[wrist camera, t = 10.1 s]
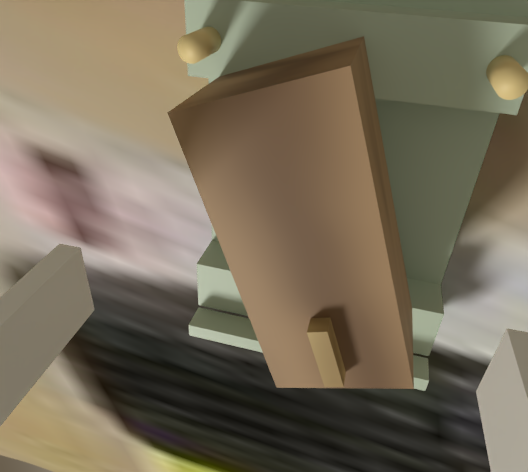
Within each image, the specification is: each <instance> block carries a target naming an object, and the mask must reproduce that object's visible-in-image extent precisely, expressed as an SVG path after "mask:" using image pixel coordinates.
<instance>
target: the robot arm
mask: <svg viewBox="0 0 528 472" xmlns="http://www.w3.org/2000/svg"><path fill="white" fill-rule="evenodd" d="M93 311H94V306H93V301H92V297H91V292H90V288H89V283H88V279H87V275H86V270H85V266H84V261H83V257H82V252H81V248H79V247H74V246H68V245H63V244H59V245H58V246H57V247H56V248H54V249H53V250H52V251H51V252H50V253H49V254H48V255H47V256H46V257H44V258H43V259H42V260H41V261H40V262H39V263H38V264H37V265H36V266H35V267H33V268H32V269H31V270H30V271H29V272H28V273H27V274H26V275H25V276H24V277H22V278H21V279H20V280H19V281H18V282H17V283H16V284H15V285H14V286H13V287H11V288H10V289H9V290H8V291H7V292H6V293H5V294H4V295H3V296H2V297H0V426H1V425H2V424H3V422H4V421H5V420H6V419H7V417H8V416H9V415H10V414H11V412H12V411H13V410H14V409H15V407H16V406H17V405H18V404H19V403H20V401H21V400H22V399H23V398H24V396H25V395H26V394H27V393H28V391H29V390H30V389H31V388H32V386H33V385H34V384H35V383H36V382H37V380H38V379H39V378H40V377H41V375H42V374H43V373H44V372H45V370H46V369H47V368H48V367H49V365H50V364H51V363H52V362H53V361H54V359H55V358H56V357H57V356H58V354H59V353H60V352H61V351H62V349H63V348H64V347H65V346H66V344H67V343H68V342H69V341H70V339H71V338H72V337H73V336H74V335H75V333H76V332H77V331H78V330H79V328H80V327H81V326H82V325H83V323H84V322H85V321H86V320H87V318H88V317H89V316H90V315H91V314H92V312H93ZM476 394H477V399H478V404H479V410H480V415H481V420H482V426H483V431H484V436H485V442H486V447H487V453H488V458H489V463H490V469H491V472H528V332H522V331H517V330H512V329H506V331H505V333H504V335H503V337H502V339H501V342H500V344H499V346H498V348H497V350H496V352H495V354H494V356H493V358H492V360H491V362H490V364H489V366H488V368H487V370H486V372H485V374H484V376H483V379H482V381H481V383H480V385H479V387H478V389H477V391H476Z"/></svg>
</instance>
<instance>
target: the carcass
mask: <svg viewBox="0 0 528 472" xmlns="http://www.w3.org/2000/svg"><path fill="white" fill-rule="evenodd" d="M185 20H186V35H184V36H182V37H181V38H180V40H179V42H178V46H177V49H178V53H179V55H180V57H181V58H182V59H183V60H184V61H185V62H187V63H188V76H193V77H202V78H209V83H211V82H212V81H214V80H215V79H216V78H218V77H219V76H223V75H227V74H230V73H234V72H237V71H241V70H245V69H248V68H252V67H255V66H259V65H263V64H266V63H270V62H273V61H277V60H280V59H284V58H288V57H291V56H295V55H298V54H302V53H306V52H309V51H313V50H316V49H320V48H324V47H327V46H331V45H334V44H338V43H342V42H345V41H349V40H352V39H356V38H359V37H363V36H364V39H365V45H366V50H367V56H368V62H369V67H370V73H371V79H372V84H373V90H374V96H375V101H376V107H377V112H378V118H379V124H380V129H381V135H382V141H383V146H384V152H385V158H386V163H387V169H388V175H389V180H390V186H391V192H392V197H393V203H394V208H395V214H396V220H397V225H398V231H399V237H400V242H401V248H402V254H403V259H404V265H405V271H406V276H407V282H408V287H409V293H410V299H411V304H412V323H413V353H418V354H422V355H427V356H429V354H430V351H431V349H432V346H433V343H434V340H435V338H436V335H437V332H438V329H439V327H440V324H441V321H442V318H443V316H444V310H443V300H442V291H441V283H442V280H443V277H444V274H445V271H446V268H447V265H448V262H449V259H450V256H451V253H452V250H453V247H454V245H455V242H456V239H457V236H458V233H459V230H460V227H461V224H462V221H463V218H464V215H465V212H466V210H467V207H468V204H469V201H470V198H471V195H472V192H473V189H474V186H475V183H476V180H477V177H478V174H479V172H480V169H481V166H482V163H483V160H484V157H485V154H486V151H487V148H488V145H489V142H490V139H491V137H492V134H493V131H494V128H495V125H496V122H497V119H498V116H499V113H503V114H511V115H517V113H518V110H519V107H520V105H521V102H522V99H523V96H524V94H525V92H526V91H527V90H528V0H185ZM197 282H198V304H199V305H201V306H206V307H210V308H215V309H219V310H224V311H228V312H233V313H237V314H242V315H246V316H248V314H247V311H246V309H245V306H244V304H243V301H242V299H241V296H240V294H239V291H238V289H237V286H236V284H235V281H234V279H233V276H232V274H231V271H230V269H229V266H228V263H227V261H226V258H225V256H224V253H223V251H222V248H221V246H220V243H219V241H218V238H217V236H216V233H215V231H214V228H213V226H212V241H211V243H210V244H209V246H208V247H207V249H206V251H205V252H204V254H203V255H202V257H201V258H200V260H199V261H198V263H197ZM189 335H191V336H195V337H199V338H203V339H208V340H212V341H216V342H220V343H225V344H229V345H233V346H237V347H242V348H246V349H250V350H254V351H258V352H262V349H261V347H260V344H259V342H258V339H257V337H256V334H255V331H254V329H253V326H252V324H251V321H250V319H248V318H244V317H239V316H235V315H230V314H226V313H221V312H217V311H212V310H208V309H203V308H198V310H197V311H196V313H195V315H194V317H193V318H192V320H191V322H190V323H189ZM413 374H414V388H415V389H419V390H423V391H425V390H426V387H427V385H428V382H429V371H428V358H423V357H419V356H414V355H413Z"/></svg>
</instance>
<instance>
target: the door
mask: <svg viewBox="0 0 528 472" xmlns="http://www.w3.org/2000/svg"><path fill="white" fill-rule="evenodd" d="M168 115H169V117H170V120H171V122H172V125H173V127H174V130H175V133H176V135H177V138H178V140H179V143H180V145H181V148H182V150H183V153H184V155H185V158H186V160H187V163H188V165H189V168H190V170H191V173H192V175H193V178H194V180H195V183H196V185H197V188H198V190H199V193H200V195H201V198H202V201H203V203H204V206H205V208H206V211H207V213H208V216H209V218H210V221H211V223H212V226H213V228H214V231H215V233H216V236H217V238H218V241H219V243H220V246H221V248H222V251H223V253H224V256H225V258H226V261H227V263H228V266H229V269H230V271H231V274H232V276H233V279H234V281H235V284H236V286H237V289H238V291H239V294H240V296H241V299H242V301H243V304H244V306H245V309H246V311H247V314H248V316H249V319H250V321H251V324H252V326H253V329H254V331H255V334H256V337H257V339H258V342H259V344H260V347H261V349H262V352H263V354H264V357H265V359H266V362H267V364H268V367H269V369H270V372H271V374H272V377H273V379H274V382H275V384H276V387H277V388H392V389H414V374H413V323H412V304H411V299H410V293H409V287H408V282H407V276H406V271H405V265H404V259H403V254H402V248H401V242H400V237H399V231H398V225H397V220H396V214H395V208H394V203H393V197H392V192H391V186H390V180H389V175H388V169H387V163H386V158H385V152H384V146H383V141H382V135H381V129H380V124H379V118H378V112H377V107H376V101H375V96H374V90H373V84H372V79H371V73H370V67H369V62H368V56H367V50H366V45H365V39H364V36H363V37H359V38H356V39H352V40H349V41H345V42H342V43H338V44H334V45H331V46H327V47H324V48H320V49H316V50H313V51H309V52H306V53H302V54H298V55H295V56H291V57H288V58H284V59H280V60H277V61H273V62H270V63H266V64H263V65H259V66H255V67H252V68H248V69H245V70H241V71H237V72H234V73H230V74H227V75H223V76H219V77H218V78H216V79H215V80H214V81H212V82H211V83H209V84H208V85H206V86H205V87H204V88H202V89H201V90H199V91H198V92H196V93H195V94H194V95H192V96H191V97H189V98H188V99H186V100H185V101H184V102H182V103H181V104H179V105H178V106H176V107H175V108H174V109H172V110H171V111H169V112H168Z"/></svg>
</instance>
